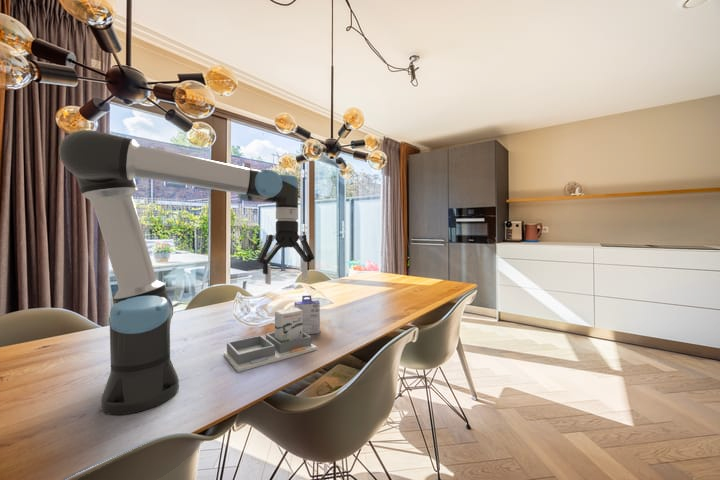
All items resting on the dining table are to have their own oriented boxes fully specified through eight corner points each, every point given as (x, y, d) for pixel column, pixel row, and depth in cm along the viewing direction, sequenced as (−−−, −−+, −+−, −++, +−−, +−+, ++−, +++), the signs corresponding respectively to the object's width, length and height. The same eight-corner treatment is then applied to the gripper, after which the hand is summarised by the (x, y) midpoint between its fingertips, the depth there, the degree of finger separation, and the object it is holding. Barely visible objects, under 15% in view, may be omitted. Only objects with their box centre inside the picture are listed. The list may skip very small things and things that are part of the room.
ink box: (281, 349, 99) (280, 313, 99) (274, 344, 103) (273, 311, 103) (303, 342, 105) (303, 309, 105) (296, 338, 109) (296, 306, 108)
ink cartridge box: (318, 329, 123) (318, 294, 122) (320, 333, 118) (320, 297, 117) (294, 331, 120) (294, 295, 120) (295, 335, 115) (294, 298, 114)
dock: (237, 372, 85) (237, 358, 85) (223, 355, 97) (223, 342, 97) (316, 349, 101) (316, 337, 101) (296, 337, 113) (296, 326, 113)
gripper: (254, 219, 92) (254, 287, 93) (323, 221, 108) (323, 279, 108) (246, 219, 98) (246, 283, 98) (313, 221, 114) (313, 277, 114)
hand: (287, 281), depth 103 cm, fingers open, 13 cm apart
